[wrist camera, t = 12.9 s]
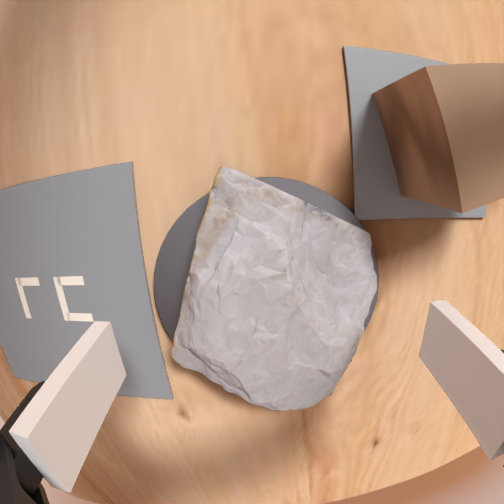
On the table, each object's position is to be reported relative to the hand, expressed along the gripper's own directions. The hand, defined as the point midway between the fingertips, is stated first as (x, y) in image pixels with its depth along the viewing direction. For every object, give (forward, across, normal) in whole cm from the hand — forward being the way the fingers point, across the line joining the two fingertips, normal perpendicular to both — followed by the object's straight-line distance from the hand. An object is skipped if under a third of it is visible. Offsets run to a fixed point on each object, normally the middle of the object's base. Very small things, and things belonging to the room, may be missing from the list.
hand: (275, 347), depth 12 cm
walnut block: (+6, +10, +8) cm, 15 cm away
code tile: (+6, -15, 0) cm, 16 cm away
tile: (+7, +10, +8) cm, 15 cm away
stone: (+6, +1, 0) cm, 6 cm away
